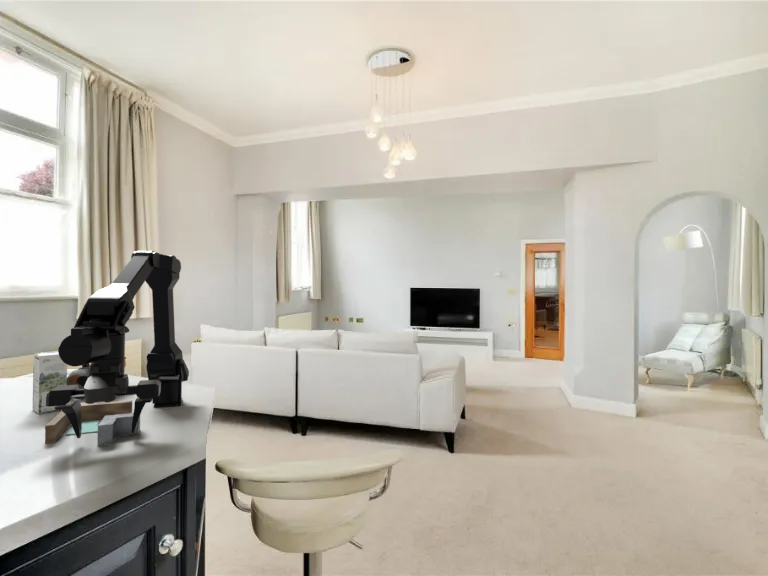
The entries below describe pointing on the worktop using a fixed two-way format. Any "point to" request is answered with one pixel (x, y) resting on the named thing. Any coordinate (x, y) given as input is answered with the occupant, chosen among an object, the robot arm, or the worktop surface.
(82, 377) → the lucky cat figurine
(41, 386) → the syrup box
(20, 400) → the worktop surface
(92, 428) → the mat
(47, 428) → the corner wall
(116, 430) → the bracket
